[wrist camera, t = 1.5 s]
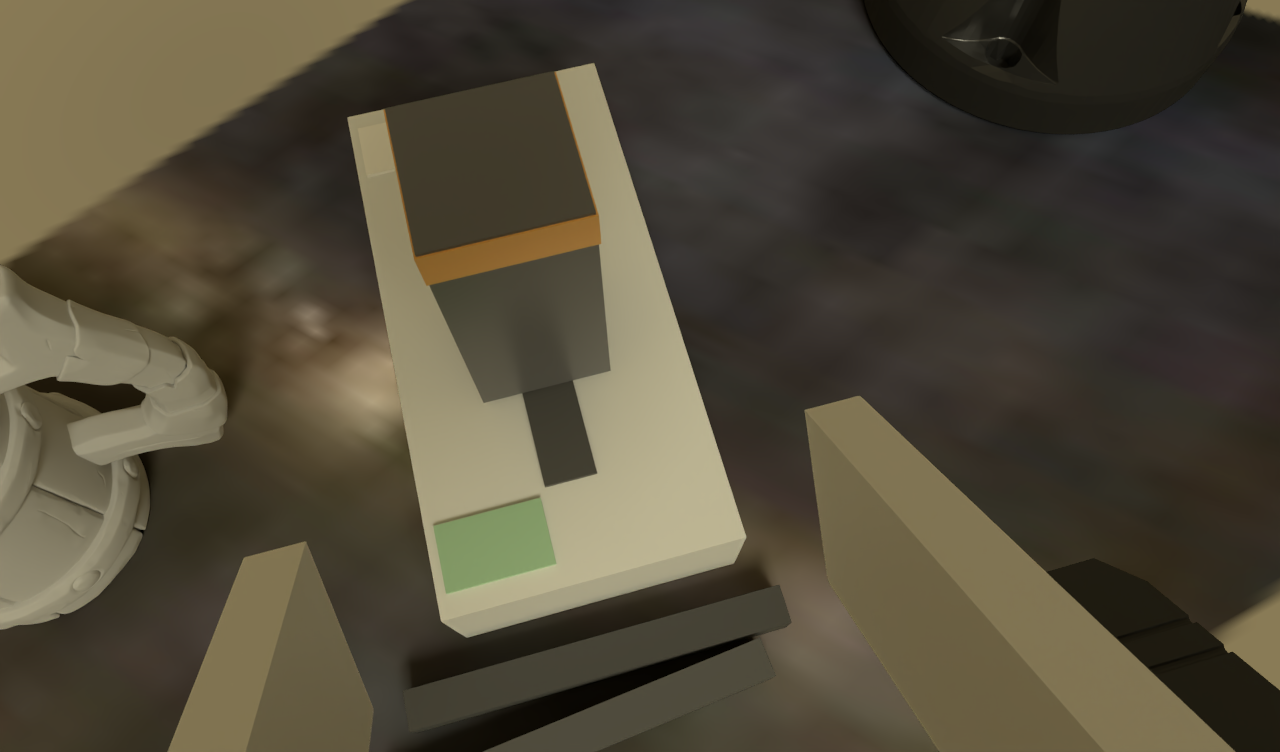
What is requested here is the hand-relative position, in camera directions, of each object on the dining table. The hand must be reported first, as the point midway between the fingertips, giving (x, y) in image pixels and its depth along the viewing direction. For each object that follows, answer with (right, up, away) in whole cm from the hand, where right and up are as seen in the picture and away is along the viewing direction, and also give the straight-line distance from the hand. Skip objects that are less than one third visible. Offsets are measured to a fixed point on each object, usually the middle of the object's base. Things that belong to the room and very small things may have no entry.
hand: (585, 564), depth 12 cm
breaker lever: (-3, +4, +17) cm, 18 cm away
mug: (-18, -2, +20) cm, 26 cm away
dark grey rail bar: (0, -7, +17) cm, 18 cm away
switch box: (-3, +3, +21) cm, 22 cm away
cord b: (-1, -9, +16) cm, 19 cm away
